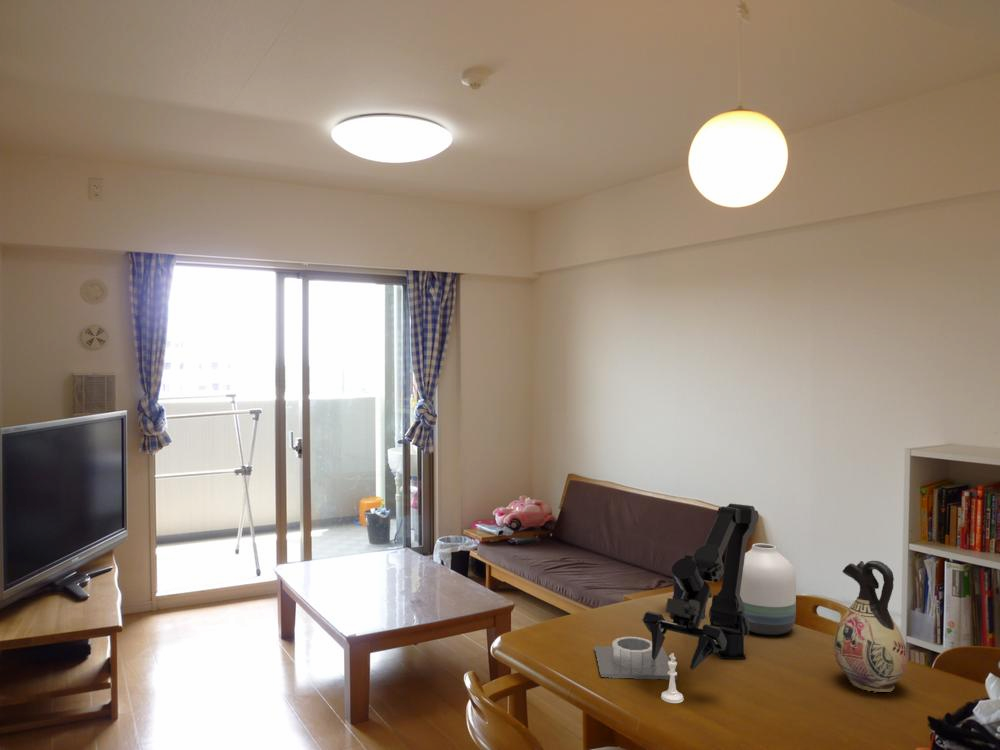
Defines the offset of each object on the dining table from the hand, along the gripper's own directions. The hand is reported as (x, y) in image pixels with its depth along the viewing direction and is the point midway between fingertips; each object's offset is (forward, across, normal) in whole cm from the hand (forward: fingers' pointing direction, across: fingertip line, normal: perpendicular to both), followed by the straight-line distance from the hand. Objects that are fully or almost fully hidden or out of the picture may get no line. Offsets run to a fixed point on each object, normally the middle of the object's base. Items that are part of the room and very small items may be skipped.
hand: (671, 664), depth 160 cm
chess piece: (+5, 0, +6) cm, 8 cm away
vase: (-36, 0, +47) cm, 59 cm away
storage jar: (-34, -22, +45) cm, 61 cm away
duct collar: (-3, -16, +14) cm, 21 cm away
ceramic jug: (-20, +33, +31) cm, 50 cm away
